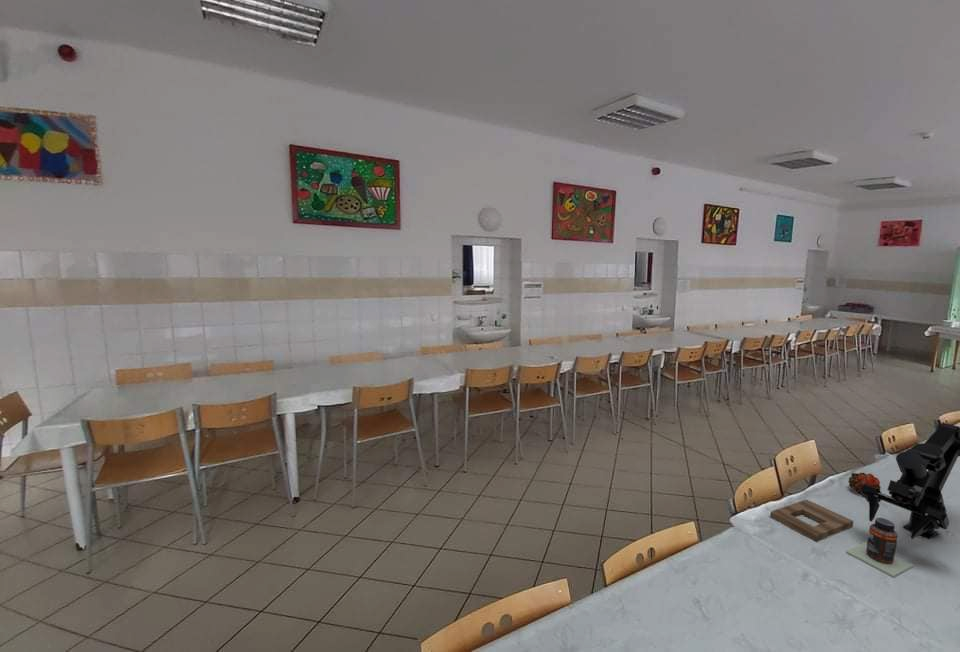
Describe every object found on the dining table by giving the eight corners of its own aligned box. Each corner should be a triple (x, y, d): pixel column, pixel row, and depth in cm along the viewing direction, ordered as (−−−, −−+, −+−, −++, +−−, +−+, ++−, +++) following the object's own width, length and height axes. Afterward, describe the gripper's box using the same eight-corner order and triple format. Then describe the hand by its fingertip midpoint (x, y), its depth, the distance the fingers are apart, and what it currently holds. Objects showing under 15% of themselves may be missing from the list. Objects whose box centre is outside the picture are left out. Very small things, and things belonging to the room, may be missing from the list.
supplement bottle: (898, 561, 122) (904, 525, 121) (886, 566, 120) (892, 529, 118) (872, 548, 128) (878, 513, 126) (861, 553, 125) (866, 517, 124)
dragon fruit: (847, 497, 160) (869, 497, 164) (872, 494, 153) (894, 495, 157) (838, 474, 164) (859, 474, 168) (861, 470, 157) (883, 470, 161)
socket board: (805, 504, 152) (806, 499, 152) (852, 526, 140) (853, 521, 139) (770, 517, 144) (770, 511, 144) (816, 541, 131) (817, 535, 131)
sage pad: (866, 543, 131) (866, 541, 131) (913, 566, 121) (913, 564, 121) (845, 552, 127) (846, 550, 126) (893, 577, 117) (893, 575, 117)
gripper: (866, 458, 133) (844, 500, 129) (952, 486, 116) (930, 535, 113) (874, 476, 138) (853, 517, 134) (958, 505, 121) (936, 552, 118)
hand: (890, 529), depth 125 cm, fingers open, 9 cm apart
